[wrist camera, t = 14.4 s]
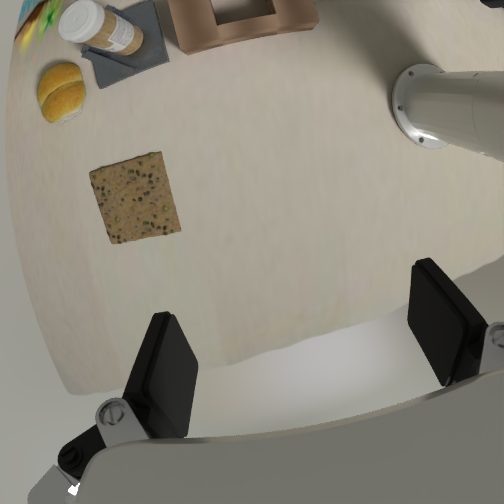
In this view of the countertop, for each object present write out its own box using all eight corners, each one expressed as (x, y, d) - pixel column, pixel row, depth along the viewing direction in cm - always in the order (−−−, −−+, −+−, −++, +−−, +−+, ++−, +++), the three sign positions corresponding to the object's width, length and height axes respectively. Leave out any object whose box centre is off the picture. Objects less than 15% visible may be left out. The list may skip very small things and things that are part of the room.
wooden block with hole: (292, -31, 25) (296, -44, 21) (312, 29, 29) (319, 20, 25) (172, -5, 27) (163, -17, 23) (188, 55, 31) (180, 49, 27)
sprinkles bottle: (107, 51, 29) (49, 37, 17) (122, 22, 27) (70, -4, 15) (135, 60, 30) (81, 44, 18) (150, 30, 28) (104, 1, 16)
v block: (154, -1, 27) (143, -11, 23) (170, 63, 31) (160, 58, 27) (89, 29, 28) (73, 23, 24) (103, 90, 32) (87, 90, 28)
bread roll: (79, 54, 30) (64, 51, 26) (94, 106, 34) (80, 107, 30) (38, 81, 31) (23, 82, 27) (52, 130, 35) (37, 134, 31)
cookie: (184, 230, 43) (182, 233, 42) (112, 244, 43) (110, 246, 43) (163, 149, 37) (161, 150, 36) (89, 171, 38) (86, 173, 37)
